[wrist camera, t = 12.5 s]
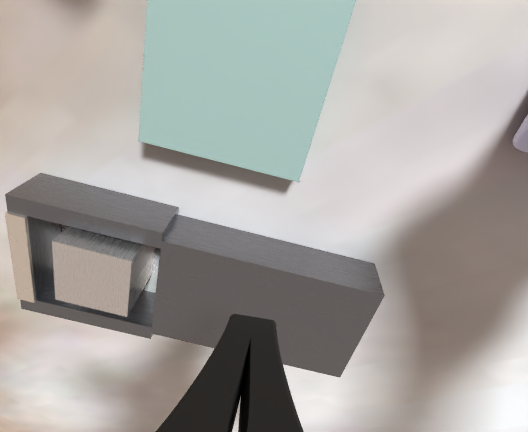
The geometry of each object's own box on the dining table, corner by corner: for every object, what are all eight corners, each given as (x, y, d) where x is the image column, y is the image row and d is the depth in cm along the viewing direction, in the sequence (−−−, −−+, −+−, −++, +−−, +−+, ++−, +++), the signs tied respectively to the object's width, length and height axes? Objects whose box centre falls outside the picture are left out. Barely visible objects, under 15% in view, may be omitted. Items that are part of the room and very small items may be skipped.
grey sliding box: (377, 257, 21) (389, 291, 18) (333, 346, 25) (337, 385, 22) (40, 172, 20) (2, 196, 18) (49, 279, 24) (19, 311, 21)
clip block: (131, 261, 18) (51, 241, 18) (127, 317, 20) (55, 299, 20) (159, 221, 21) (92, 203, 21) (152, 271, 23) (92, 256, 23)
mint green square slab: (352, -3, 15) (357, -5, 14) (298, 170, 19) (298, 182, 17) (164, -55, 15) (151, -62, 13) (149, 132, 18) (138, 141, 17)
